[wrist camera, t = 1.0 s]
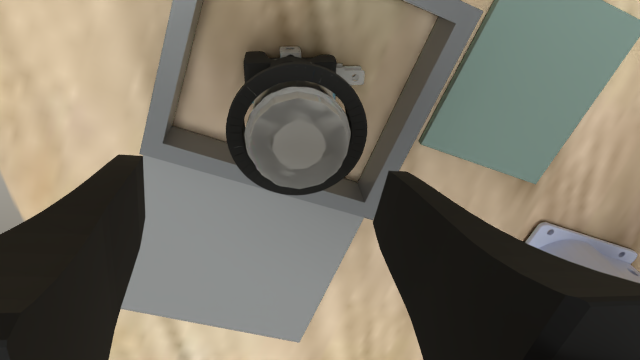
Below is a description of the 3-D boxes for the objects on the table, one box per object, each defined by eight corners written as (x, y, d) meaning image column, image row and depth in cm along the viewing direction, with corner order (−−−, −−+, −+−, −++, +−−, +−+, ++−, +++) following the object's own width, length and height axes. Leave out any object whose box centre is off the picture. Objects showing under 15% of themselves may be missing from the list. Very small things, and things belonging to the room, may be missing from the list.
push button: (361, 22, 23) (417, 69, 14) (356, 115, 25) (400, 204, 17) (237, 23, 22) (215, 72, 14) (245, 118, 25) (230, 211, 16)
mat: (641, 22, 24) (648, 24, 24) (531, 180, 29) (535, 184, 28) (516, -42, 22) (521, -42, 22) (418, 141, 27) (421, 144, 26)
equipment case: (470, -10, 23) (491, -6, 20) (298, 330, 34) (300, 356, 32) (211, -133, 19) (204, -143, 17) (115, 294, 30) (103, 321, 28)
